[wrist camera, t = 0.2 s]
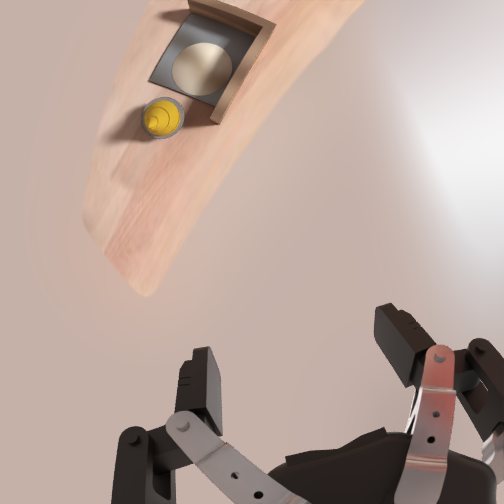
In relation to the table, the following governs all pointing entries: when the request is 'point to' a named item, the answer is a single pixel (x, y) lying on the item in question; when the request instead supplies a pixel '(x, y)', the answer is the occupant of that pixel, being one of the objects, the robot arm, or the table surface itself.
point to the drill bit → (162, 117)
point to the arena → (213, 53)
